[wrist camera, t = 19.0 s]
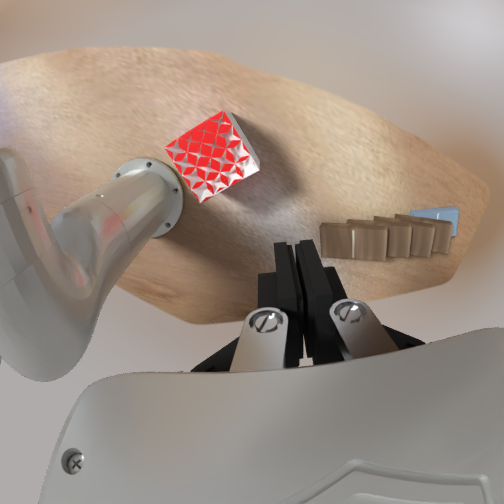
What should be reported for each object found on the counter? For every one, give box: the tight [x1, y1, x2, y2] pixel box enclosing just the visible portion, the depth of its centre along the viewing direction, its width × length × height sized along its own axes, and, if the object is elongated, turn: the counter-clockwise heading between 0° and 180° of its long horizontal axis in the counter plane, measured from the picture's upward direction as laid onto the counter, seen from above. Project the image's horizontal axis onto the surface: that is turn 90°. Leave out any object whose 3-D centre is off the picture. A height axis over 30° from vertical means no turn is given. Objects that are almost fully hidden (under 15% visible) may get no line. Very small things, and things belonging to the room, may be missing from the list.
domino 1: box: [320, 223, 388, 262], centre depth 38 cm, size 2×5×10 cm
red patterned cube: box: [164, 110, 260, 204], centre depth 32 cm, size 8×8×8 cm
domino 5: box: [395, 214, 453, 254], centre depth 37 cm, size 2×5×10 cm
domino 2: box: [346, 219, 412, 258], centre depth 38 cm, size 2×5×10 cm
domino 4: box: [410, 206, 459, 237], centre depth 38 cm, size 2×5×10 cm
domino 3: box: [374, 216, 435, 258], centre depth 37 cm, size 2×5×10 cm
